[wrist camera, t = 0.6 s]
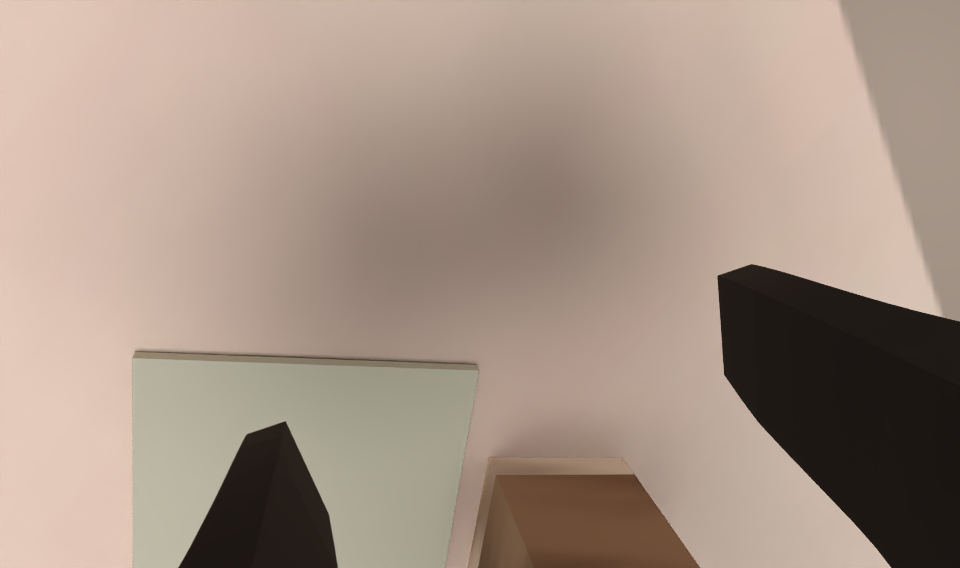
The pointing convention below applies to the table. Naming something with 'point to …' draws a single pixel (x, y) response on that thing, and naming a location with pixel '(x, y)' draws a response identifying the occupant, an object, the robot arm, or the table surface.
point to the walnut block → (571, 517)
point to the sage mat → (304, 447)
